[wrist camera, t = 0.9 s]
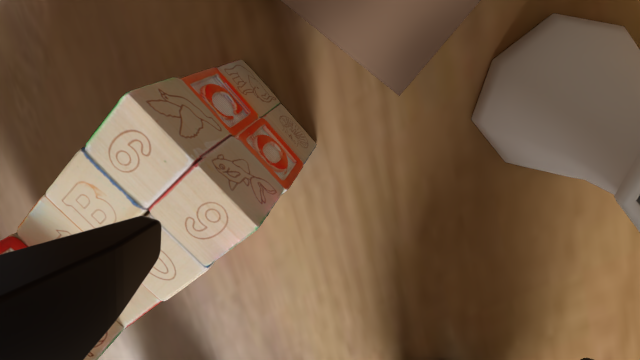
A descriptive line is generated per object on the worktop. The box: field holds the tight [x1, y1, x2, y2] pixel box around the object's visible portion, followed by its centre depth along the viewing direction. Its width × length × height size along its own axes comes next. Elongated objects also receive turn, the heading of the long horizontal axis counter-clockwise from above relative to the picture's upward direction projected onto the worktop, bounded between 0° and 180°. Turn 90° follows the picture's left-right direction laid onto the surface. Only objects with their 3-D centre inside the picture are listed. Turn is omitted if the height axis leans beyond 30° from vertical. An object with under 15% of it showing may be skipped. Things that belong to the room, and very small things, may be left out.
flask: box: [471, 13, 640, 232], centre depth 13 cm, size 7×7×10 cm
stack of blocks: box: [0, 60, 317, 360], centre depth 20 cm, size 21×6×12 cm, turn 132°
